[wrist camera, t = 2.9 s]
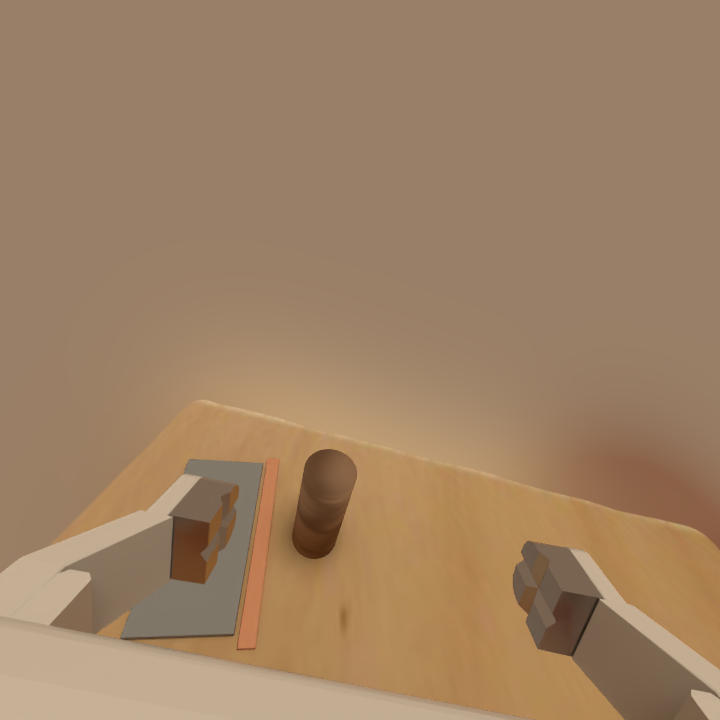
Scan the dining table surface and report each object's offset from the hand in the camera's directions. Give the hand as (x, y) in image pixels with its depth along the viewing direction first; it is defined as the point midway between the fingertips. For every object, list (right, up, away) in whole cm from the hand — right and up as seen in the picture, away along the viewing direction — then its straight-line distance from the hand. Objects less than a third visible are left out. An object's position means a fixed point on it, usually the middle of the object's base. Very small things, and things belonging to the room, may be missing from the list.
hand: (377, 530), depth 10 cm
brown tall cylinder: (-6, -15, +29) cm, 33 cm away
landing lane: (-16, -14, +27) cm, 34 cm away
